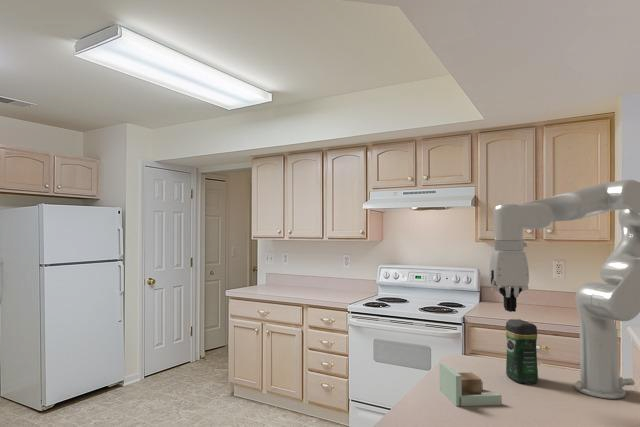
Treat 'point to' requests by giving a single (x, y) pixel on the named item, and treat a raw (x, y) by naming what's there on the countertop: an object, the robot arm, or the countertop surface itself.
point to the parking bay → (453, 390)
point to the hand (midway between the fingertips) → (510, 310)
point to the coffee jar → (521, 351)
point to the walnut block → (470, 384)
